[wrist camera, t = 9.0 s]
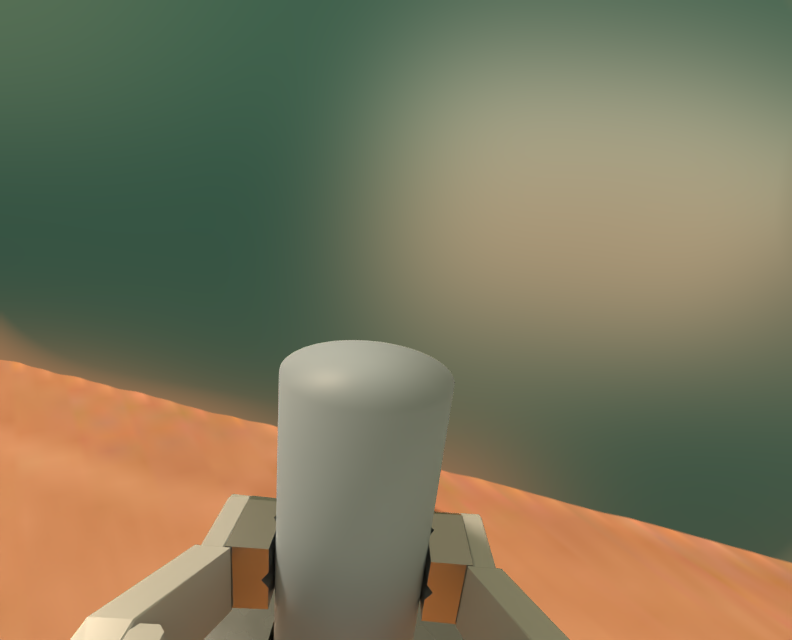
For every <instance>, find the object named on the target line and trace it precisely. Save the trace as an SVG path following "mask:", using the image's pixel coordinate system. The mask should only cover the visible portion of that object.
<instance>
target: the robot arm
mask: <svg viewBox="0 0 792 640" xmlns="http://www.w3.org/2000/svg"><path fill="white" fill-rule="evenodd" d="M276 502H277V498H268V497H259V496H246V495H237V494H233V495H231V496H230V497H229V498H228V500H227V501H226V503H225V505H224V506H223V508H222V510H221V512H220V513H219V515H218V517H217V518H216V520H215V522H214V524H213V525H212V527H211V529H210V530H209V532H208V534H207V536H206V537H205V539H204V541H203V543H202V544H201V545H194V546H192V547H191V548H189V549H188V550H186V551H185V552H183V553H182V554H181V555H179V556H178V557H176V558H175V559H173V560H172V561H170V562H169V563H167V564H166V565H164V566H163V567H161V568H160V569H158V570H157V571H155V572H154V573H152V574H151V575H149V576H148V577H146V578H145V579H143V580H142V581H140V582H139V583H137V584H136V585H134V586H133V587H131V588H130V589H128V590H127V591H125V592H124V593H122V594H121V595H119V596H118V597H116V598H115V599H113V600H112V601H111V602H109V603H108V604H106V605H105V606H103V607H102V608H100V609H99V610H97V611H96V612H94V613H93V614H91V615H90V616H88V617H87V618H86V619H85V621H84V622H83V623H82V625H81V626H80V627H79V629H78V630H77V631H76V633H75V634H74V635H73V637H72V638H71V639H70V640H204V639H205V638H206V636H207V635H208V634H209V633H210V632H211V631H212V630H213V629H214V628H215V627H216V626H217V625H218V624H219V623H220V622H221V621H222V620H223V619H224V618H225V617H226V616H227V615H228V614H229V613H230V611H231V610H232V608H249V609H268V608H269V604H270V601H271V598H272V595H273V592H274V589H275V552H276ZM420 609H421V621H430V622H440V623H449V624H456V628H457V629H458V631H459V633H460V634H461V636H462V637H463V639H464V640H569V638H568V637H567V636H566V635H565V634H564V633H563V632H562V631H561V630H560V629H559V628H558V627H557V626H556V625H555V624H554V623H553V622H552V621H551V620H550V619H549V618H548V617H547V616H546V615H545V613H544V612H543V611H542V610H541V609H540V608H539V607H538V606H537V605H536V604H535V603H534V602H533V601H532V600H531V599H530V598H529V597H528V596H527V595H526V594H525V593H524V592H523V591H522V590H521V589H520V587H519V586H518V585H517V584H516V583H515V582H514V581H513V580H512V579H511V578H510V577H509V576H508V575H507V574H506V573H505V572H504V571H503V570H502V569H498V568H496V567H495V563H494V560H493V556H492V553H491V550H490V546H489V543H488V539H487V536H486V532H485V529H484V525H483V522H482V519H481V517H480V515H479V514H464V513H461V514H459V513H447V512H434V515H433V521H432V527H431V533H430V539H429V545H428V552H427V558H426V564H425V570H424V576H423V582H422V589H421V595H420Z"/></svg>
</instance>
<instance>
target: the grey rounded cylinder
mask: <svg viewBox="0 0 792 640" xmlns="http://www.w3.org/2000/svg"><path fill="white" fill-rule="evenodd" d="M454 383H455V382H454V377H453V375H452V373H451V372H450V371H449V369H448V368H447V367H446V366H444V365H443V364H442V363H441V362H439V361H438V360H436V359H434V358H433V357H431V356H429V355H426V354H425V353H422V352H419V351H417V350H414V349H411V348H408V347H404V346H400V345H395V344H390V343H384V342H377V341H365V340H343V341H331V342H324V343H319V344H314V345H311V346H307V347H304V348H302V349H300V350H297V351H295V352H294V353H292V354H290V355H289V356H288V357H286V359H285V360H284V361H283V362H282V364H281V366H280V369H279V403H278V404H279V405H278V452H277V502H276V552H275V601H274V640H413V638H414V632H415V626H416V619H417V613H418V607H419V601H420V595H421V589H422V582H423V576H424V570H425V564H426V558H427V552H428V545H429V539H430V533H431V527H432V521H433V515H434V508H435V502H436V496H437V490H438V484H439V478H440V471H441V465H442V459H443V453H444V446H445V441H446V434H447V428H448V422H449V415H450V410H451V403H452V397H453V391H454Z"/></svg>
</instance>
